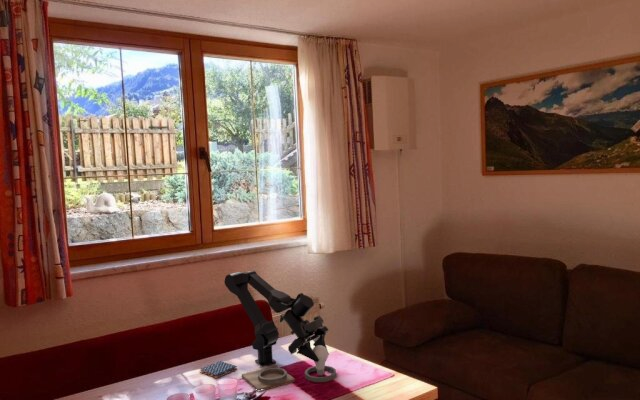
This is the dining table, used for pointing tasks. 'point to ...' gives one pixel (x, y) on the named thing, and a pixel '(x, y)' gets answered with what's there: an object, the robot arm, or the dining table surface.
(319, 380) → the collar
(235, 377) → the dining table surface
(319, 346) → the lightbulb
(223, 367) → the woven mat
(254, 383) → the socket board
